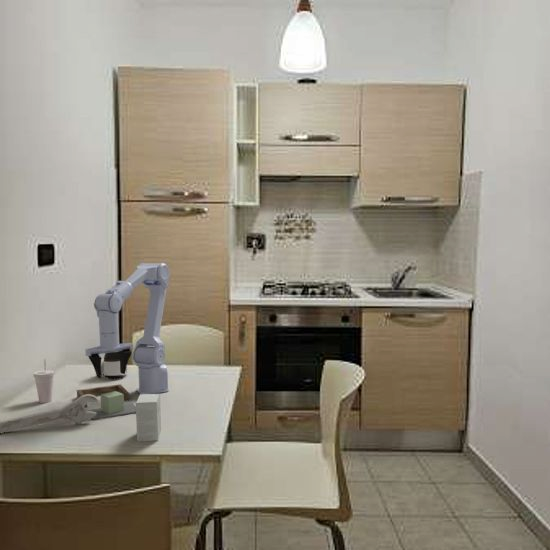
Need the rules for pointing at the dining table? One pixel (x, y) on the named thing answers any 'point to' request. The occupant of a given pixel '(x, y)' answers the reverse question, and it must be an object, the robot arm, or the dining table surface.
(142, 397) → the small box
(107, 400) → the cube
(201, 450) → the dining table surface
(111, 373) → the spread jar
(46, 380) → the smoothie
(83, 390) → the wooden u-shaped frame
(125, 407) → the mat
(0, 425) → the wrench
